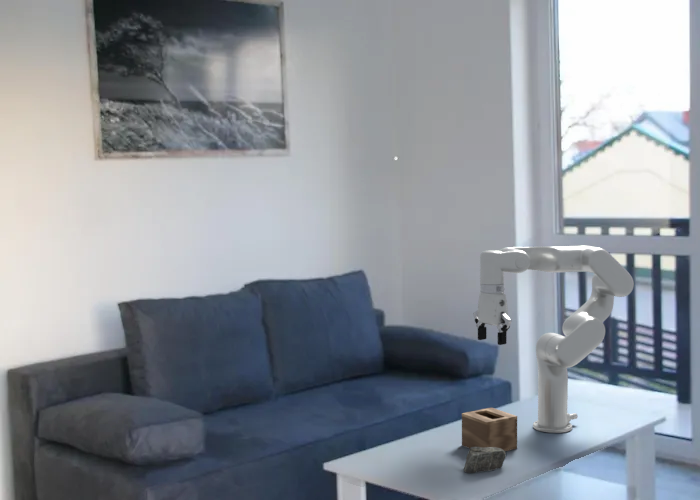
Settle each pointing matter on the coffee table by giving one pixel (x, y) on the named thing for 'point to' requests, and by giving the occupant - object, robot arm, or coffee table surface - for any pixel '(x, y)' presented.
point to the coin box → (489, 429)
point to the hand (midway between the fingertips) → (491, 341)
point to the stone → (484, 459)
